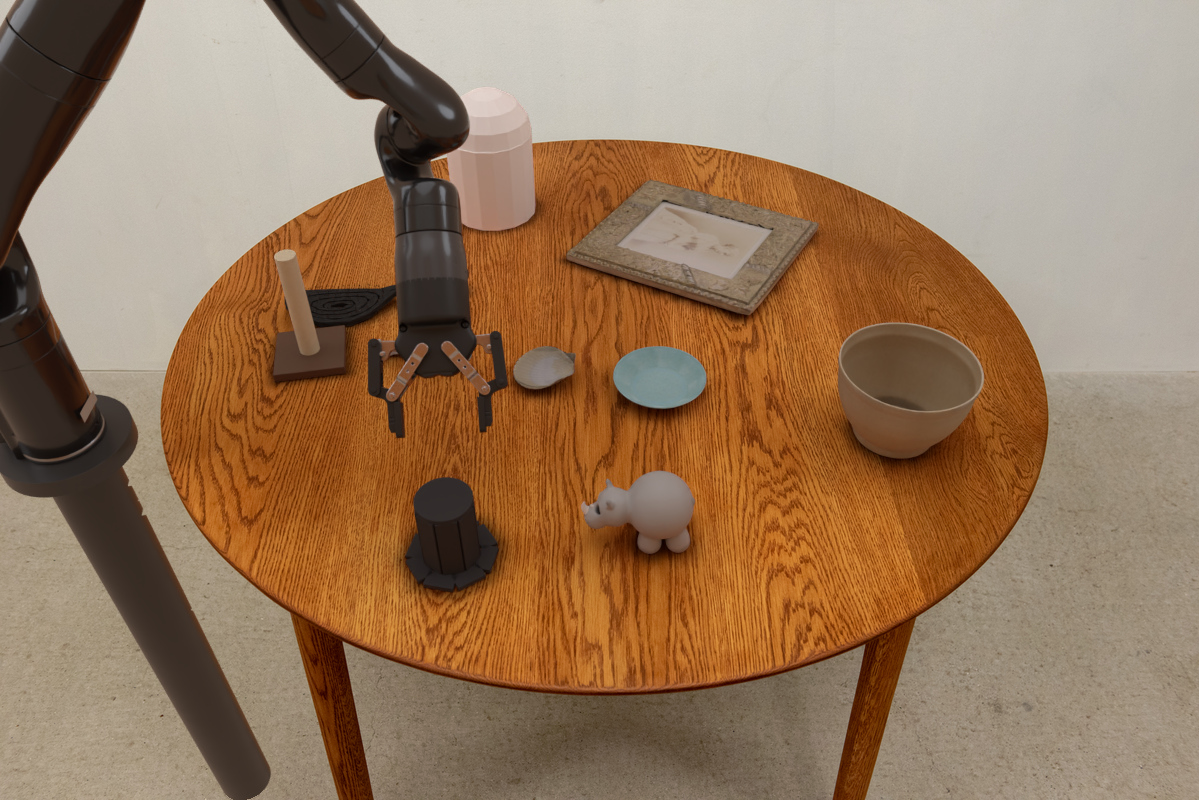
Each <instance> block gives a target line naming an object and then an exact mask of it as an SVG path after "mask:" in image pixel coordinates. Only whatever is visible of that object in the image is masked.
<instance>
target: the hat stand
mask: <svg viewBox="0 0 1199 800" xmlns="http://www.w3.org/2000/svg"><path fill="white" fill-rule="evenodd" d="M273 258H274V262H275V266H276V271H277V274H278V276H279V280H280V284H281V287H282V292H283V295H284V296H285V299H286V302H287V306H288V310H289V311H288V310H287V311H288V313H289V316H290V320H291V324H292V329H293V330H289V331H283V332H282V331H279V332H277V333H276V341H275V351H274V361H273V371H272V376H273V379H274V382H275V383H277V382H285V381H295V380H302V379H304V380H305V379H312V378H319V377H329V376H335V375H336V376H337V375H345V374H347V329H346V326H345V325H342V326H333V327H317V328H316V327H315V326H316V325H314V322H313V318H312V314H311V310H310V306H309V303H308V299H307V295H306V291H305V290H306V287H305V284H304V280H303V276H302V272H301V267H300V264H299V260H298V256H297V253H296V251H295V250H294V249H288V248H287V249H282V250H279V251H277V252H276V253H275V254H274V256H273Z"/></svg>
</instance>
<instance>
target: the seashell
mask: <svg viewBox="0 0 1199 800" xmlns="http://www.w3.org/2000/svg"><path fill="white" fill-rule="evenodd" d="M576 357H577V353H576V352H566V351H563V350H562V349H561V348H558V347H557V346H552V345H551V346H549V345H543V346H537V347H535V348H532V349H529V350H528V352H525V353H524V354H522V355H521V356H520V357H519V358H518V359H517V360H516V362H515V364H514V366H513V369H512V374H513V379H514V380H515V382H517V384H518V385H520V386H521V387H523V388H525V389H529V390H542V389H546V388H549V387H552V386H554V385H556V384H558V383H560V382H561V381H563V380H564V379H566V378H567V377H570V376H572V375H573V374H575V372H576V369H575V368H576V363H575V362H576Z"/></svg>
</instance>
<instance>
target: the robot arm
mask: <svg viewBox="0 0 1199 800" xmlns="http://www.w3.org/2000/svg"><path fill="white" fill-rule="evenodd" d="M262 1H263V2H264V4H265V5H266V6H267V8H268V9H269V10H270V12H271V13H272V14H273V15H274V17H275V18H276V20H277V21H278V22H279V23H280V25H281V26H282V28H283V29H284V30H285V31H286V32H287V34H288V35H289V36H290V38H292V40H293V41H294V42H295V43H296V45H298V47H299V48H300V49H301V50H302V51H303V52H304V53H305V55H306V56H308V58H309V59H310V60H311V61H312V62H313V63H314V64H315V65H316V66H317V67H318V68H319V69H320V70H321V71H322V72H323V73H324V74H325V75H326V77H327V78H329V80H331V82H333V84H335V86H336V87H337V88H338V89H339V90H340V91H342V92H343V94H344V95H346V96H347V97H348V98H351V99H353V100H357V101H365V100H366V101H368V100H374V101H375V100H376V101H379V102H382V103H384V104H385V105H384V106H383V107H382V108H381V109H380V110H379V112H378V113H377V117H376V120H375V123H374V129H373V141H374V148H375V151H376V155H377V159H378V162H379V164H380V168H381V171H382V174H383V177H384V180H385V184H386V187H387V189H388V191H389V194H390V197H391V201H392V209H393V211H392V212H393V229H394V256H393V257H394V258H393V266H394V281H395V283H394V284H395V285H396V297H395V298H396V312H397V324H398V325H397V327H398V329H397V330H398V331H397V336H396V338H395V340H382V341H379V340H378V338H376V337H375V338H374V337H373V338H370V339H369V340H368V342H367V393H368V395H369V396H371V397H374V398H378V399H380V400H383V401H384V402H385V403H386V406H387V407H386V408H387V423H388V430H389V431H390V434H395V439H405V438H406V426H405V425H406V424H405V410H404V402H402V398H403V396H404V395H405V393H406V392H407V390H408V389H409V388H410V387H411V385H412V384H413V383H414V381H415V380H416V378H417V377H420V378H423V379H433V378H436V377H439V376H440V377H445V378H452V377H455V376H457V375H459V374H460V373H462V374H463V376H465V378H466V379H467V380H468V381H469V382H470V383H471V385H472V386H473V387H474V388H475V389H476V390H477V391H478V396H476V402H477V403H476V405H477V418H478V419H477V420H478V432H479V433H480V434H481V433H488V427H492V425H493V422H494V419H493V403H492V397H493V395H494V394H495V393H497V392H499V391H501V390H505V389H507V387H508V386H509V381H508V374H507V365H506V358H505V351H504V343H503V336H502V334H501V332H500V331H498V330H493V331H491V332H490V333H484V334H483V333H482V334H475V332H474V331H473V328H472V317H471V315H472V314H471V303H470V302H471V301H470V289H469V288H470V287H469V278H470V277H469V275H470V273H469V268H468V258H467V253H466V248H465V243H464V237H463V235H464V234H463V224H462V219H461V205H460V197H459V193H458V190H457V188H456V186H455V185H454V184H453V183H451V182H450V180H448V179H445V178H439V177H435V176H434V173H433V170H432V160H435V159H437V158H440V157H443V156H445V155H447V154H448V153H450V152H453V151H455V150H457V149H458V148H460V147H461V146H462V145H463V144H464V143H465V141H466V140H467V138H468V135H469V131H470V120H469V115H468V112H467V109H466V107H465V105H464V103H463V101H462V99H461V98H460V97H461V96H460V94H459V93H458V92H457V91H456V90H455V88H454V87H452V86H451V85H450V83H448V82H447V80H444V78H442V77H441V76H439V74H437V73H435V72H434V71H433V70H431V69H430V68H428V67H427V66H425V65H424V64H423V63H422V62H420V61H419V60H417V59H416V58H415V57H413V56H412V55H410V54H408V53H407V52H405V51H404V50H402V49H400V48H399V47H397V46H396V45H395V44H394V43H393V42H392V41H391V40H390V39H389V37H387V35H386V34H385V33H384V32H383V30H381V28H380V27H379V26H378V24H376V23H375V22H374V20H373V19H372V18H371V17H370V16H369V15H368V13H366V11H365V10H364V9H363V7H361V6H360V5H359V4H358V3H357V2H356V0H262ZM146 2H147V0H14V2H13V4H12V5H11V7H10V8H9V10H8V12H7V14H6V16H5V18H4V19H3V21H2V22H1V25H0V443H7V444H8V446H9V447H10V449H11V451H12V452H13V454H14V456H15V457H16V459H17V460H21V459H27V460H28V461H30V462H32V463H36V464H41V465H52V464H59V463H64V462H67V461H70V460H73V459H76V458H78V457H80V456H82V455H84V454H85V453H87V452H88V451H90V450H91V449H92V448H94V447H95V446H96V445H97V444H98V443H99V442H100V440H101V439H102V438H103V436H104V434H105V431H106V422H105V420H104V418H103V415H102V414H101V412H100V410H99V408H98V407H97V405H96V401H97V397H96V395H95V394H96V393H95V391H94V390H90V388H89V386H88V384H87V382H86V380H85V378H84V377H83V374H82V372H81V370H80V368H79V366H78V364H77V361H76V360H75V357H74V356H73V354H72V352H71V350H70V348H69V346H68V344H67V341H66V339H65V338H64V336H63V333H62V331H61V329H60V327H59V325H58V323H57V321H56V319H55V317H54V315H53V313H52V311H51V309H50V306H49V304H48V302H47V300H46V298H45V296H44V292H43V289H42V285H41V281H40V280H41V279H40V277H39V274H38V271H37V268H36V266H35V263H34V261H33V259H32V256H31V254H30V253H29V250H28V248H27V246H26V244H25V243H26V242H25V241H24V239H23V237H22V235H21V232H20V227H21V224H22V223H23V221H24V218H25V216H26V214H27V211H28V209H29V207H30V205H31V203H32V201H33V199H34V197H35V195H36V193H37V192H38V190H39V188H40V187H41V186H42V184H43V182H44V181H45V180H46V179H47V177H48V175H49V174H50V173H51V171H52V170H53V169H54V168H55V166H56V165H57V163H59V161H60V160H61V158H62V156H63V155H64V154H65V152H66V150H67V149H68V148H69V146H70V145H71V143H72V141H73V140H74V139H75V137H76V136H77V134H78V133H79V131H80V130H81V128H82V127H83V125H84V124H85V122H86V120H87V119H88V118H89V116H90V114H92V112H93V110H94V109H95V107H96V106H97V104H98V102H99V101H100V99H101V98H102V96H103V94H104V92H105V91H106V89H107V87H108V85H109V84H110V82H111V80H112V78H113V77H114V75H115V74H116V72H117V70H118V68H119V66H120V64H121V62H122V60H123V58H124V56H125V54H126V52H127V49H128V48H129V46H130V43H131V41H132V38H133V36H134V34H135V31H136V29H137V26H138V24H139V21H140V18H141V15H142V13H143V10H144V7H145V4H146ZM478 346H481V347H482V348H483V351H484V352H485V354H487V355H491V357H492V364H493V365H492V366H493V373H494V379H491V380H489V381H486V380H485V379H484V378H483V377H482V376H481V374H480V373H478V371H477V370H476V369H475V368H474V367H473V365H472V364H471V363H470V361H469V360H468V359H469V358H470V356H471V355H472V356H473V354H474V351H475V350H476V349H477V347H478ZM394 350H396V352H397V353H398V354H397V355H398V356H399V357H400V358H401V359H402V360H403V361H404V362H405V363H404V365H403V367H402V368H401V370H400V371H399V372H398V374H397V375H396V376H395V377H396V378H395V380H394V381H393V383H391V386H390V387H389V388H388V387H384V362H387V361H388V360H389V359H390V358H391V356H390V354H391V352H392V351H394ZM472 356H471V357H472ZM470 359H471V358H470Z"/></svg>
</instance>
